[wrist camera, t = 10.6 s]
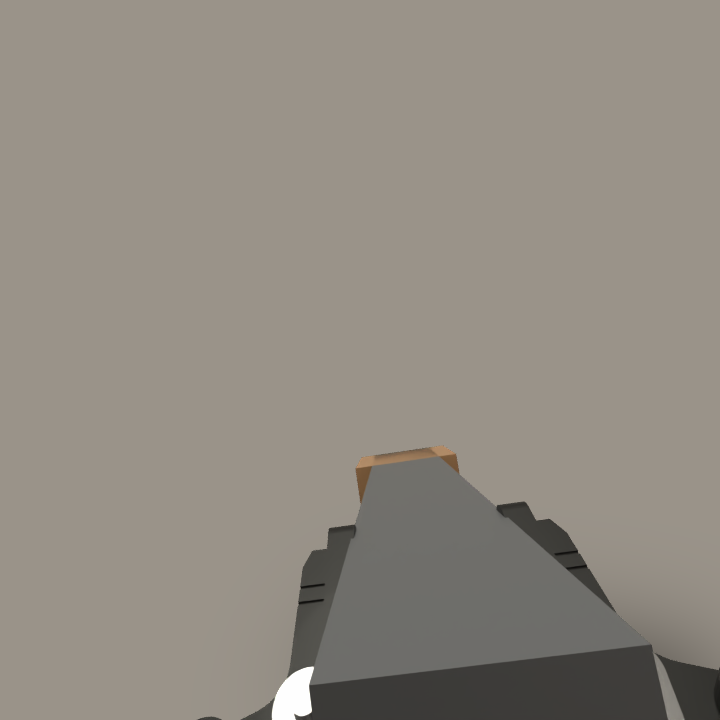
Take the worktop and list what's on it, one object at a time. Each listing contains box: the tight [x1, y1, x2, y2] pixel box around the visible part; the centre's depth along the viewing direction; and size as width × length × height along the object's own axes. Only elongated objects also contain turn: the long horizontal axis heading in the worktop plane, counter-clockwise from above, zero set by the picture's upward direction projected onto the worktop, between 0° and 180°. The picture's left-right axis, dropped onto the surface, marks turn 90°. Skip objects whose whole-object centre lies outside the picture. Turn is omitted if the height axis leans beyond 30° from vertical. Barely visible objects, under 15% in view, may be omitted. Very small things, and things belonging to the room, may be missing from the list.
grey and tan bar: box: [308, 446, 668, 720], centre depth 17 cm, size 6×26×4 cm, turn 176°
